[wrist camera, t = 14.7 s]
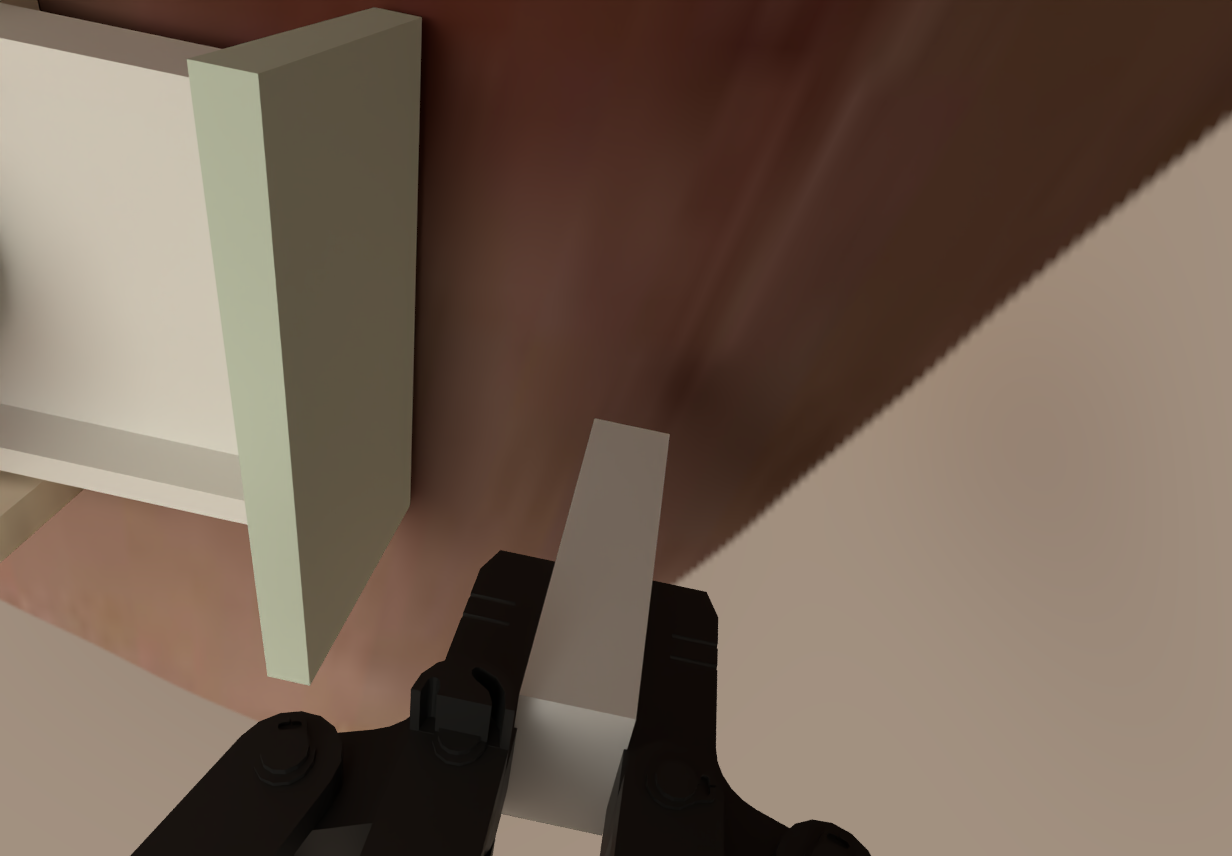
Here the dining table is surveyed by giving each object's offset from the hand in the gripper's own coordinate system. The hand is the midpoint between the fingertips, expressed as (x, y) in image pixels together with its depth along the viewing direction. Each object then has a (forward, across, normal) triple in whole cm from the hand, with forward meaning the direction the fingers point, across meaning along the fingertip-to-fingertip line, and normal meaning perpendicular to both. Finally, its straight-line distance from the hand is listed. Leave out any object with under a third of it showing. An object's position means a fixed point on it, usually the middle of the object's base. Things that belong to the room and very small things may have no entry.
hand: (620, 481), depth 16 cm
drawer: (+5, +15, 0) cm, 16 cm away
